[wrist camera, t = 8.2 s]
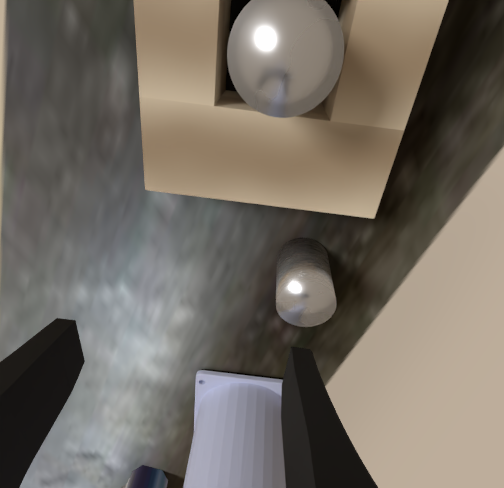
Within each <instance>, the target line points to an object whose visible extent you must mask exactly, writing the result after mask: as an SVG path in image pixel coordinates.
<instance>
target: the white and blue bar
mask: <svg viewBox="0 0 504 488" xmlns="http://www.w3.org/2000/svg"><path fill="white" fill-rule="evenodd" d="M167 483H168V480H167V478H166V476H165V474H164V473H163V471H162V470H159V469H156V468H152V467H148V466H144V465H142V466H141V467H139V468H137V469H136V470H134V471H133V472H132V474H131V476H130V478H129V480H128V482H127V484H126V485H125V486H123V487H121V488H167Z"/></svg>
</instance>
